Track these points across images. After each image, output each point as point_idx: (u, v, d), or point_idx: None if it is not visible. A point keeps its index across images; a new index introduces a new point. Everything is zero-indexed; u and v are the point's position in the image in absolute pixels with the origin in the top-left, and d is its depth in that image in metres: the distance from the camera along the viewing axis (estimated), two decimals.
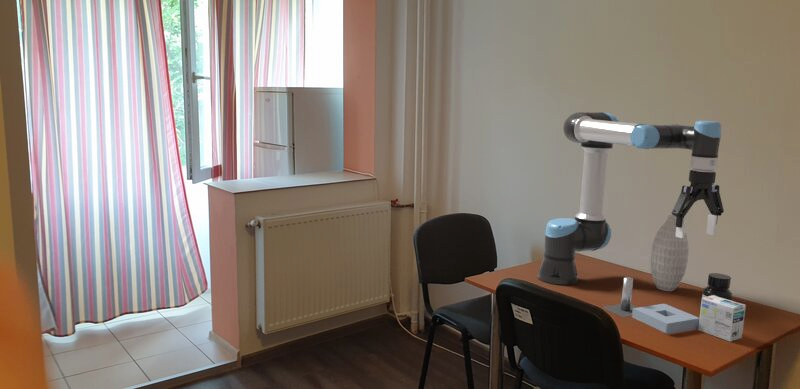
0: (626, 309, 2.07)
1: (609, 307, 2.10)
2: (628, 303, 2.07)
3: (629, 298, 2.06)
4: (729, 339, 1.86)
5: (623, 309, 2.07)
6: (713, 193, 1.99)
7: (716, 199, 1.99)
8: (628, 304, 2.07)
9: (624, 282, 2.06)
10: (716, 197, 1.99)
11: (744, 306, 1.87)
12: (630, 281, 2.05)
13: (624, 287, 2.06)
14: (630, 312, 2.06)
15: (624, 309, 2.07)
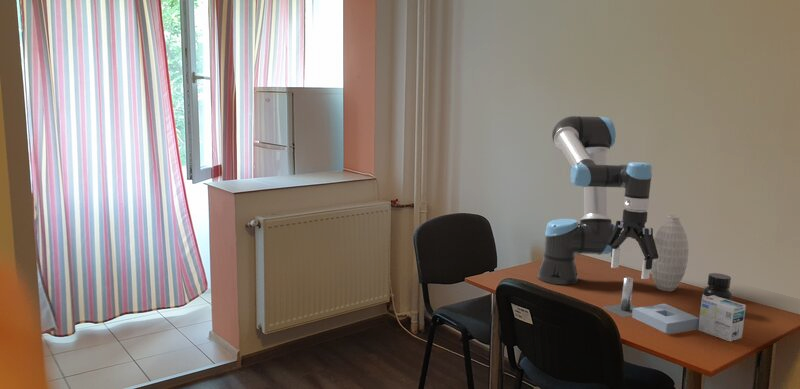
0: (626, 309, 2.07)
1: (609, 307, 2.10)
2: (628, 303, 2.07)
3: (629, 298, 2.06)
4: (729, 339, 1.86)
5: (623, 309, 2.07)
6: None
7: None
8: (628, 304, 2.07)
9: (624, 282, 2.06)
10: None
11: (744, 306, 1.87)
12: (630, 281, 2.05)
13: (624, 287, 2.06)
14: (630, 312, 2.06)
15: (624, 309, 2.07)
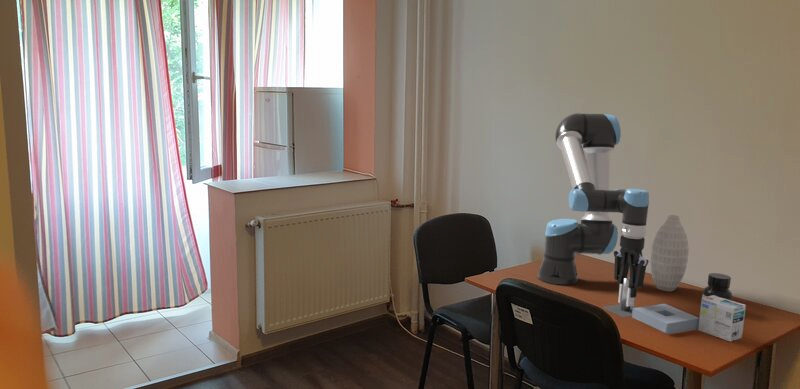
0: (626, 309, 2.07)
1: (609, 307, 2.10)
2: None
3: None
4: (729, 339, 1.86)
5: (623, 309, 2.07)
6: None
7: None
8: None
9: (624, 282, 2.06)
10: None
11: (744, 306, 1.87)
12: None
13: (624, 287, 2.06)
14: (630, 312, 2.06)
15: (624, 309, 2.07)
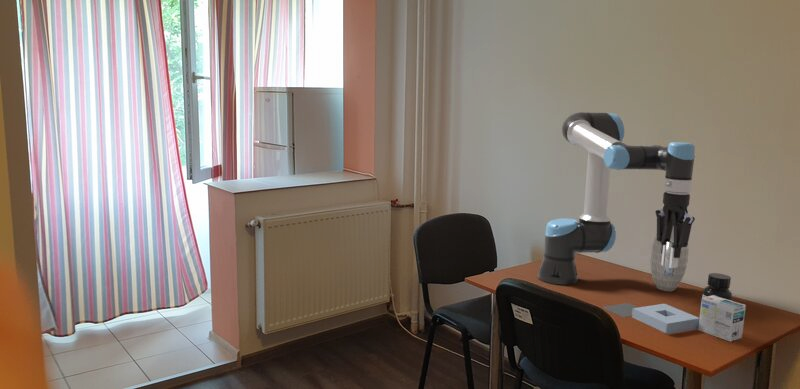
0: (669, 275, 1.94)
1: (609, 307, 2.10)
2: (671, 268, 1.94)
3: None
4: (729, 339, 1.86)
5: (666, 275, 1.95)
6: None
7: None
8: (671, 269, 1.94)
9: (667, 246, 1.94)
10: None
11: (744, 306, 1.87)
12: None
13: (667, 251, 1.94)
14: (630, 312, 2.06)
15: (667, 275, 1.95)
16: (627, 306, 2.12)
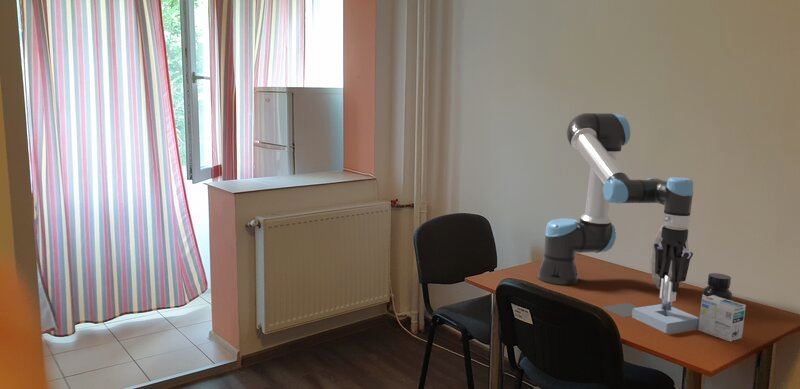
0: (667, 308, 1.96)
1: (609, 307, 2.10)
2: (670, 302, 1.96)
3: None
4: (729, 339, 1.86)
5: (664, 308, 1.97)
6: None
7: None
8: (670, 303, 1.96)
9: (665, 280, 1.96)
10: None
11: (744, 306, 1.87)
12: None
13: (665, 285, 1.96)
14: (630, 312, 2.06)
15: (665, 308, 1.96)
16: (627, 306, 2.12)
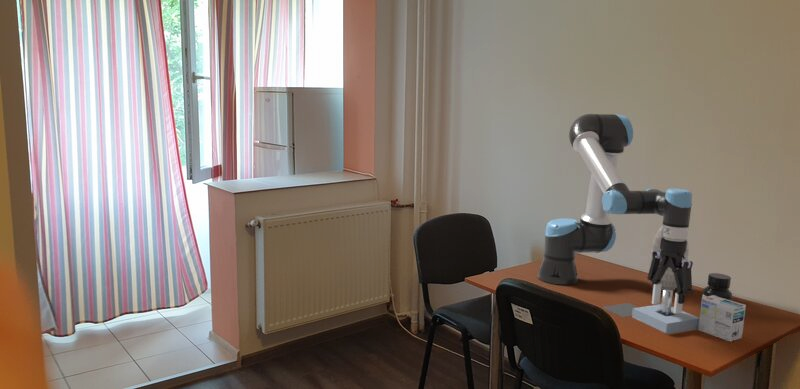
0: None
1: (609, 307, 2.10)
2: None
3: (669, 311, 1.96)
4: (729, 339, 1.86)
5: None
6: None
7: None
8: None
9: (663, 294, 1.97)
10: None
11: (744, 306, 1.87)
12: (670, 293, 1.96)
13: (663, 300, 1.97)
14: (630, 312, 2.06)
15: None
16: (627, 306, 2.12)
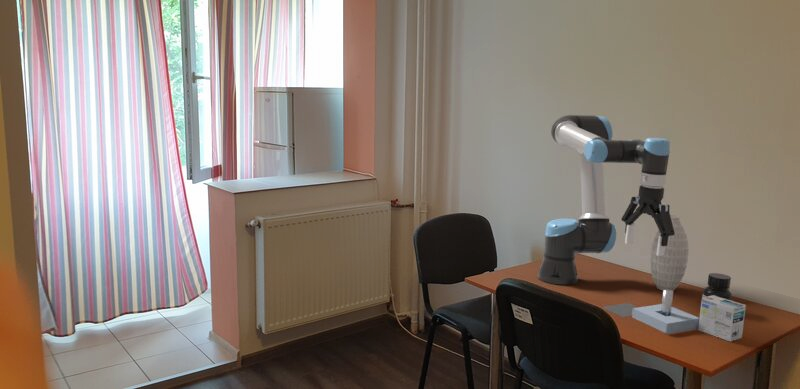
0: None
1: (609, 307, 2.10)
2: None
3: (669, 311, 1.96)
4: (729, 339, 1.86)
5: None
6: None
7: None
8: None
9: (664, 295, 1.96)
10: None
11: (744, 306, 1.87)
12: (670, 294, 1.95)
13: (664, 300, 1.96)
14: (630, 312, 2.06)
15: None
16: (627, 306, 2.12)
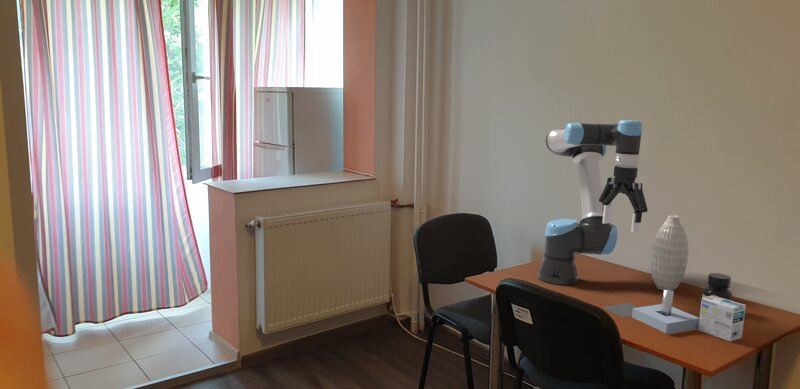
0: None
1: (609, 307, 2.10)
2: None
3: (669, 311, 1.96)
4: (729, 339, 1.86)
5: None
6: None
7: None
8: None
9: (664, 295, 1.96)
10: None
11: (744, 306, 1.87)
12: (671, 294, 1.95)
13: (664, 300, 1.96)
14: (630, 312, 2.06)
15: None
16: (627, 306, 2.12)
